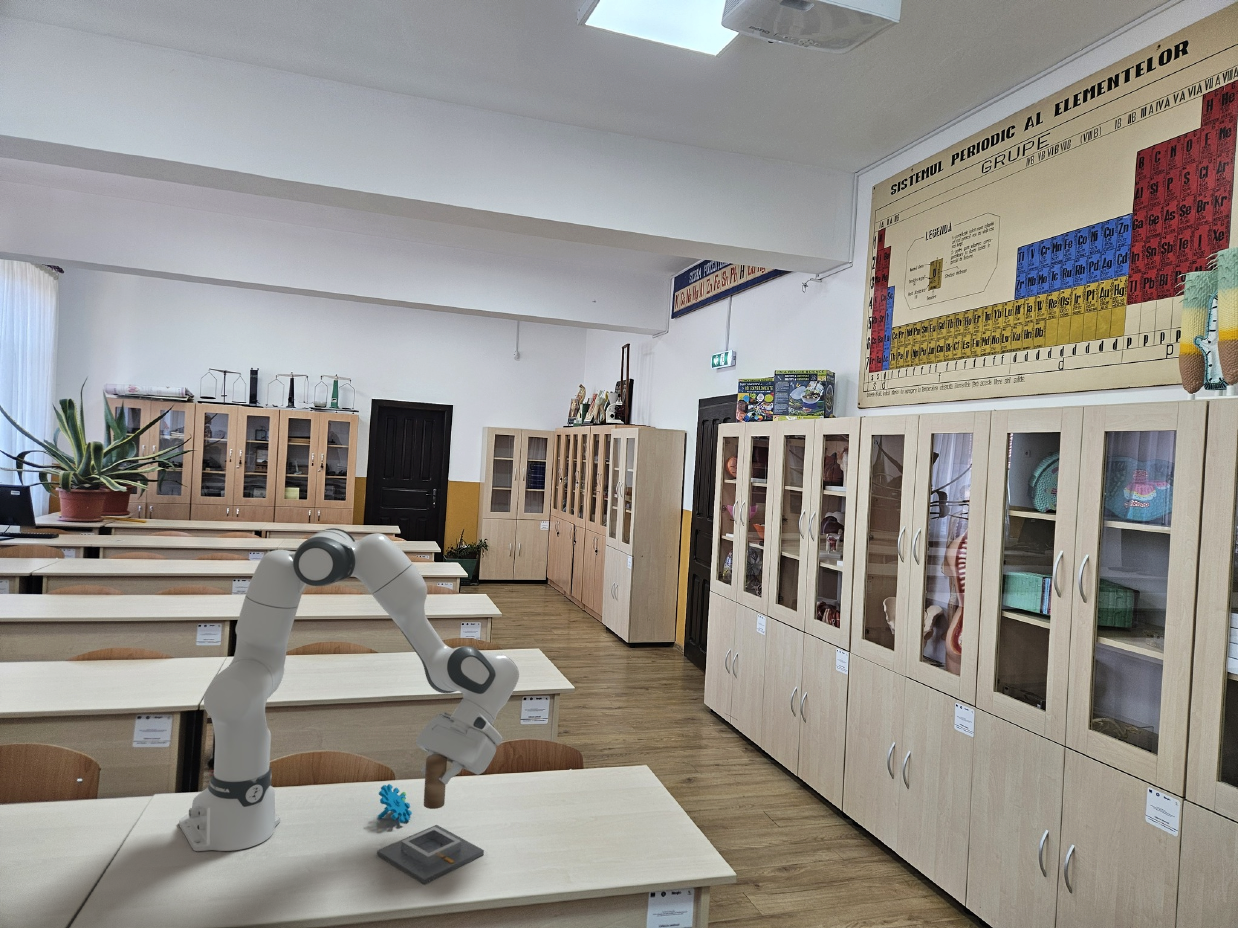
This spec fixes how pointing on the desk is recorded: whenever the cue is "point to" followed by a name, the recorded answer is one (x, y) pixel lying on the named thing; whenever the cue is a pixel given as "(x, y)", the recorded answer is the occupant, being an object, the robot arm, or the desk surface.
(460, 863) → the square frame on plate
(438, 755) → the pin
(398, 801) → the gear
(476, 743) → the robot arm
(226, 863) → the desk surface
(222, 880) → the desk surface
